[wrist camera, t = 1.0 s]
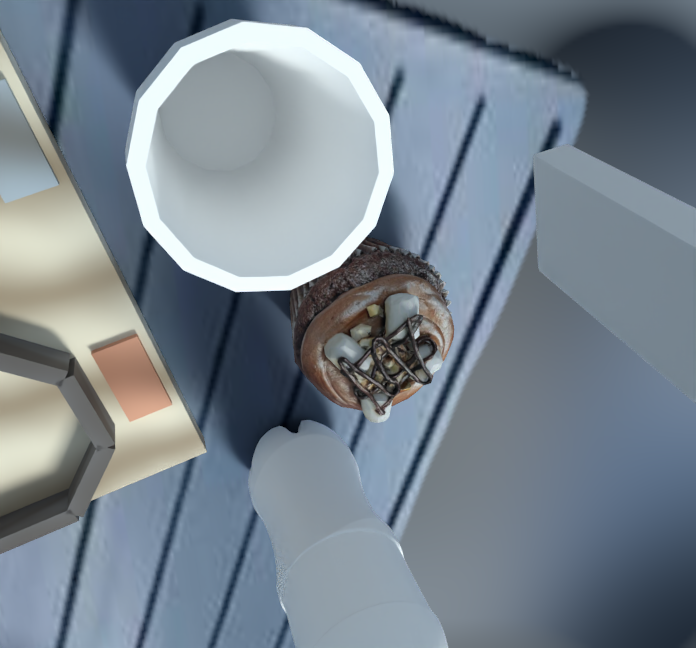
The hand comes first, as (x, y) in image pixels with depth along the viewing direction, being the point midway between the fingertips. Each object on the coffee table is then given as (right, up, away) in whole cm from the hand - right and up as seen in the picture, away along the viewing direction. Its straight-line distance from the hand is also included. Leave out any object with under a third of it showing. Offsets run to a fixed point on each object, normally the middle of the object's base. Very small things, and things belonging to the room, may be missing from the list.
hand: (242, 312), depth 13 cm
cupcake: (+2, +2, +28) cm, 28 cm away
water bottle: (-2, -9, +32) cm, 34 cm away
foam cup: (-5, +11, +21) cm, 24 cm away
